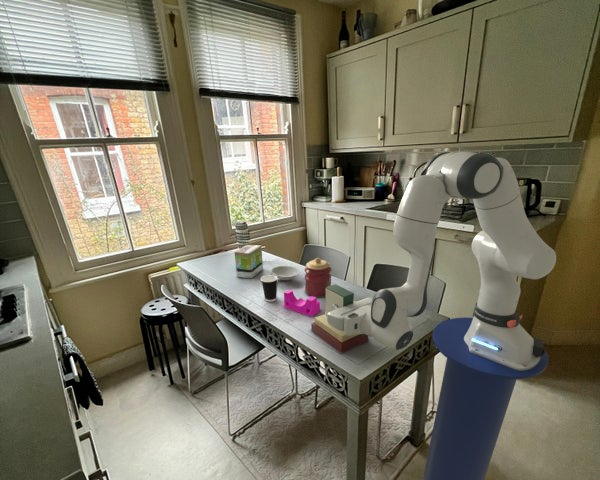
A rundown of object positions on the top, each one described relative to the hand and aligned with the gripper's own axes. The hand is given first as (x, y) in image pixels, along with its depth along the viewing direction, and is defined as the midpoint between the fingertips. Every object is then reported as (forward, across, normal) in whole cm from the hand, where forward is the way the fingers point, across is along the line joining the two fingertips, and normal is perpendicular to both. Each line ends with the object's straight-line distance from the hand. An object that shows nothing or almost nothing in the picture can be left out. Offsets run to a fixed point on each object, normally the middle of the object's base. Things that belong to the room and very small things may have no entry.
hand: (339, 303), depth 115 cm
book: (0, 0, +6) cm, 7 cm away
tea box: (+80, -1, +14) cm, 81 cm away
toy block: (+26, -1, +14) cm, 30 cm away
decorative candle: (+102, -8, +14) cm, 103 cm away
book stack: (0, 0, +14) cm, 14 cm away
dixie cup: (+43, +6, +14) cm, 46 cm away
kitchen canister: (+36, -17, +14) cm, 42 cm away
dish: (+59, -12, +14) cm, 62 cm away
